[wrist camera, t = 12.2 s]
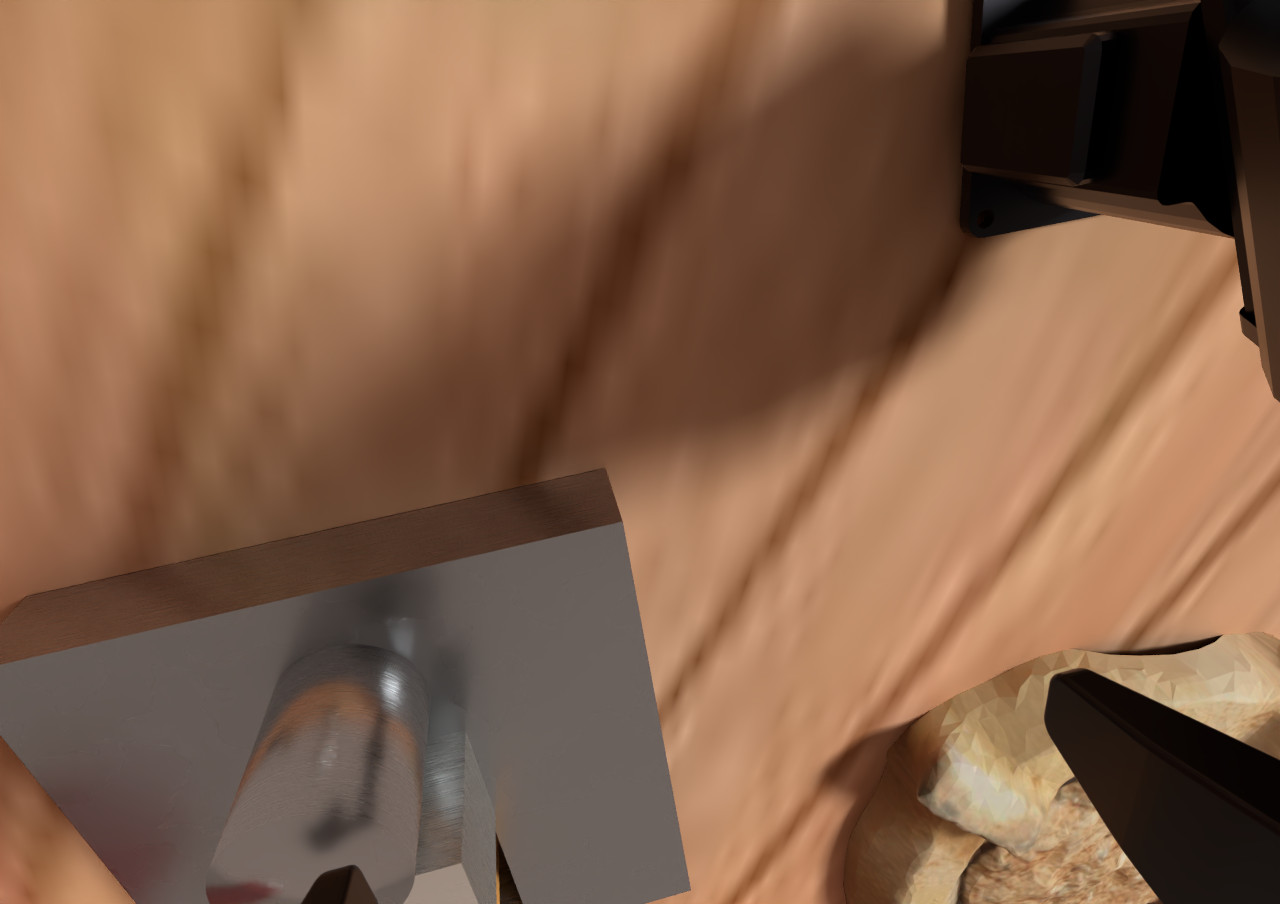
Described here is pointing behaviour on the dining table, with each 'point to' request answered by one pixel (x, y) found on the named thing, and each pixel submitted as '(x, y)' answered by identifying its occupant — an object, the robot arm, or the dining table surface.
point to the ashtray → (1035, 783)
